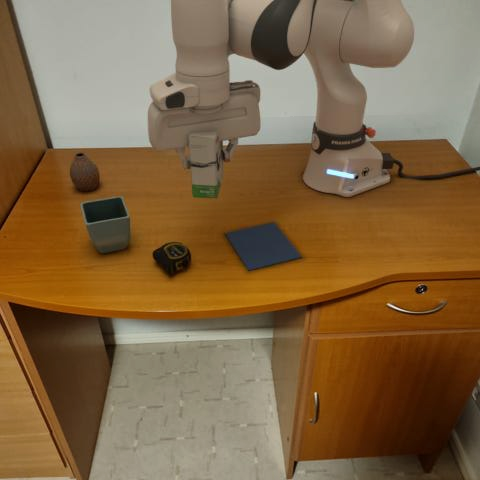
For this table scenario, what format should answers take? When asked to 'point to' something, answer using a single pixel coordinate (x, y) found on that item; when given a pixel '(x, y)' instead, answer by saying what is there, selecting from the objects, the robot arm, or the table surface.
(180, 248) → the tape measure
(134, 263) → the table surface
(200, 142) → the ink box
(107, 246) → the flower pot
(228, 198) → the table surface
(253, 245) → the cloth
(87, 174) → the vase
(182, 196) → the table surface
